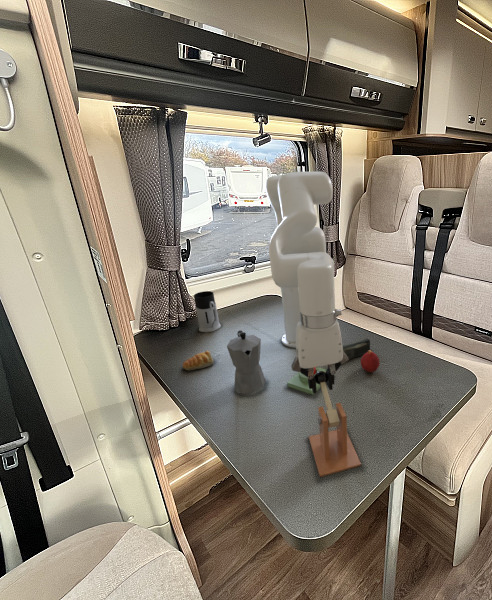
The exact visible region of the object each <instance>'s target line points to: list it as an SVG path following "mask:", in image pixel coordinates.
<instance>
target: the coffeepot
mask: <svg viewBox="0 0 492 600" xmlns="http://www.w3.org/2000/svg"><path fill="white" fill-rule="evenodd" d="M261 341H262V339H261V338H260V337H258V336H257V335H254V334H248V335H247V333H246V332H243V331H242V330H240V329H239V330H238V331H237V337H235V338H232V339H230V340H229V342H228V343H227V345H226V348H227V351H228V354H229V357H230V359H231V363H232V365H233V366H234V367H235V371H234V392H236V393H237V394H238V395H240V394H254V393H255V392H258V391H259V390H261V389H263V388H264V387H265V384H266V383H267V381H266V378H265V374H264V372H263V369H262V365H261V364H260V360H261V344H262V342H261Z"/></svg>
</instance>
